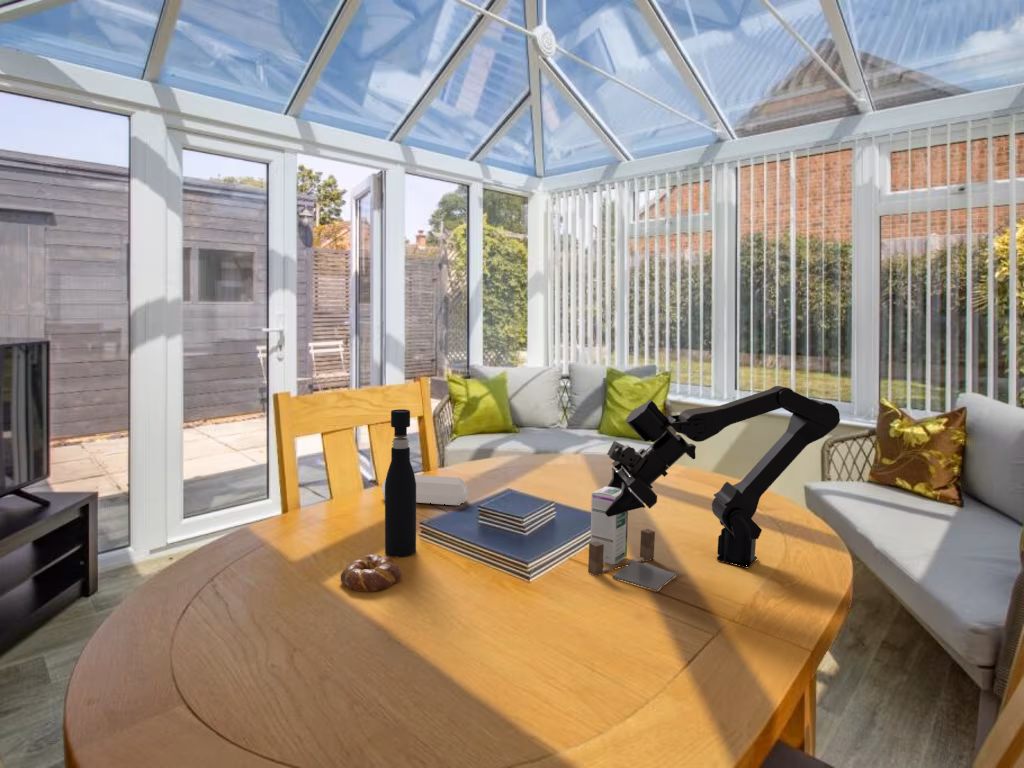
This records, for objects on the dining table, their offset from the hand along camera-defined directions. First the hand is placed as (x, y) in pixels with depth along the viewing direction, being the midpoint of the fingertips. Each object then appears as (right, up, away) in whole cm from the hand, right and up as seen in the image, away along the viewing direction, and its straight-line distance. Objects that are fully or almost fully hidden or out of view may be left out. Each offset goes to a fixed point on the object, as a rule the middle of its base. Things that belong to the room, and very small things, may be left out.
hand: (603, 508), depth 122 cm
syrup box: (+1, -11, +1) cm, 11 cm away
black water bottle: (-42, -10, +2) cm, 44 cm away
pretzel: (-46, -11, -11) cm, 48 cm away
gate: (+3, -11, -2) cm, 12 cm away
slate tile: (+7, -12, -8) cm, 16 cm away
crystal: (-43, -6, +37) cm, 57 cm away
